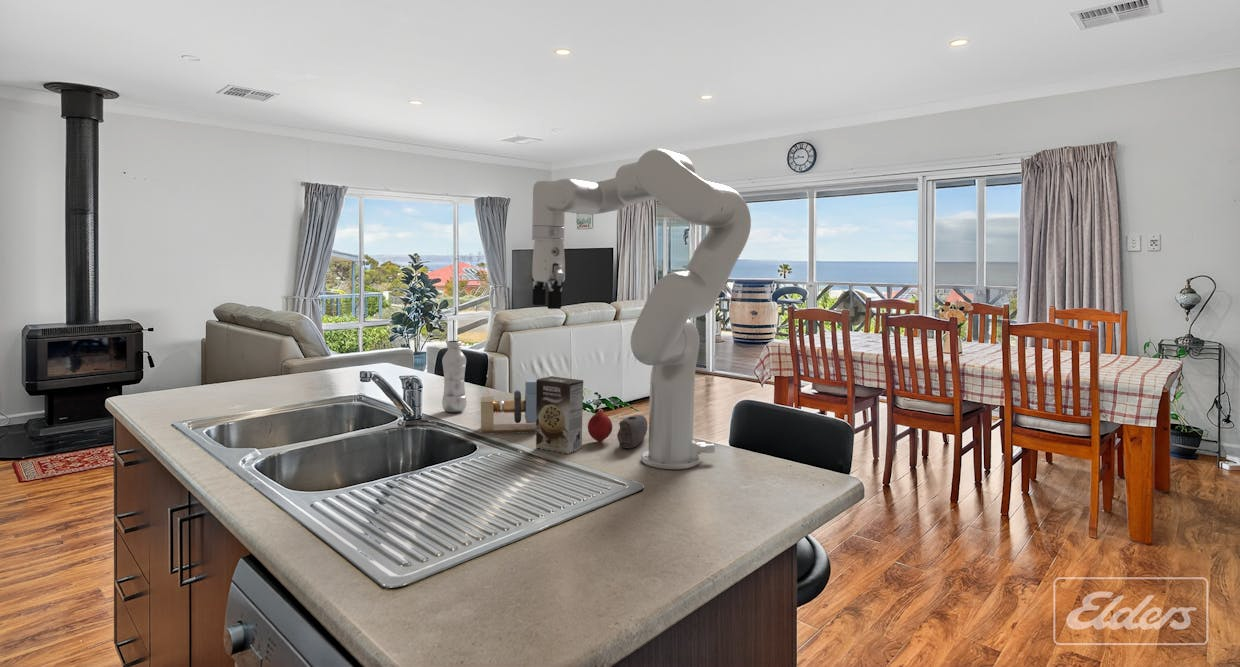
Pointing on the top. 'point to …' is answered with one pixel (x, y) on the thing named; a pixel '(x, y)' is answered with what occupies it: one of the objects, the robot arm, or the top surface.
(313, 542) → the top surface
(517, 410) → the o ring
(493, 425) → the pipe rig
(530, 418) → the blue-grey stepped block
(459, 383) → the plastic bottle
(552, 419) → the coffee box
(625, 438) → the perforated stone tool
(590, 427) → the onion
